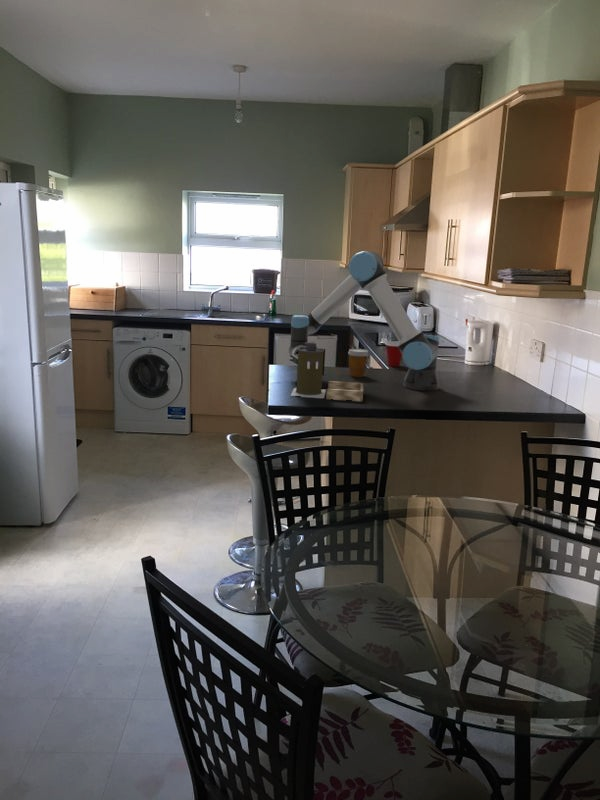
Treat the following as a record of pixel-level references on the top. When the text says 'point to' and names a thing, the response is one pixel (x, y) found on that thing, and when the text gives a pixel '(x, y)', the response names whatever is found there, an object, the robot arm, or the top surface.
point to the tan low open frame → (345, 391)
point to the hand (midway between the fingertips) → (312, 365)
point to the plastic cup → (393, 353)
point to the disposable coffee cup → (357, 362)
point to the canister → (310, 378)
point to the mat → (309, 395)
